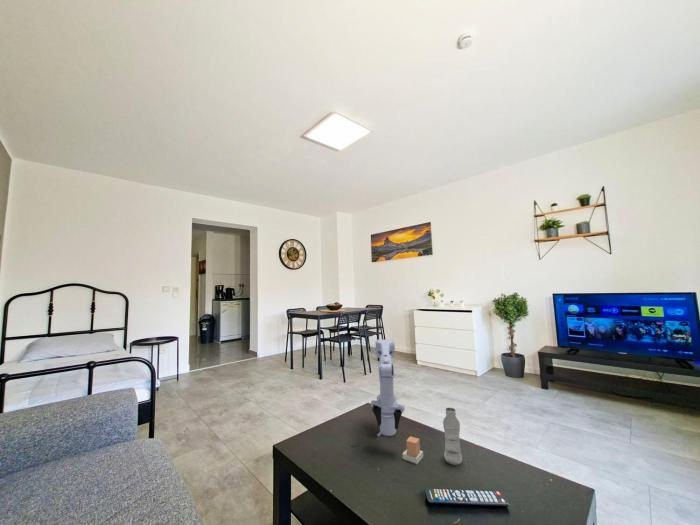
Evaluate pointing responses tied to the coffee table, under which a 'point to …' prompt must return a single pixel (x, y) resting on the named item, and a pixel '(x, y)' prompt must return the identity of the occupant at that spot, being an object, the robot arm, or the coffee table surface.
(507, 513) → the coffee table surface
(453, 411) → the plastic bottle
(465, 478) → the coffee table surface
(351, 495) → the coffee table surface
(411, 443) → the block
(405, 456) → the top slab
